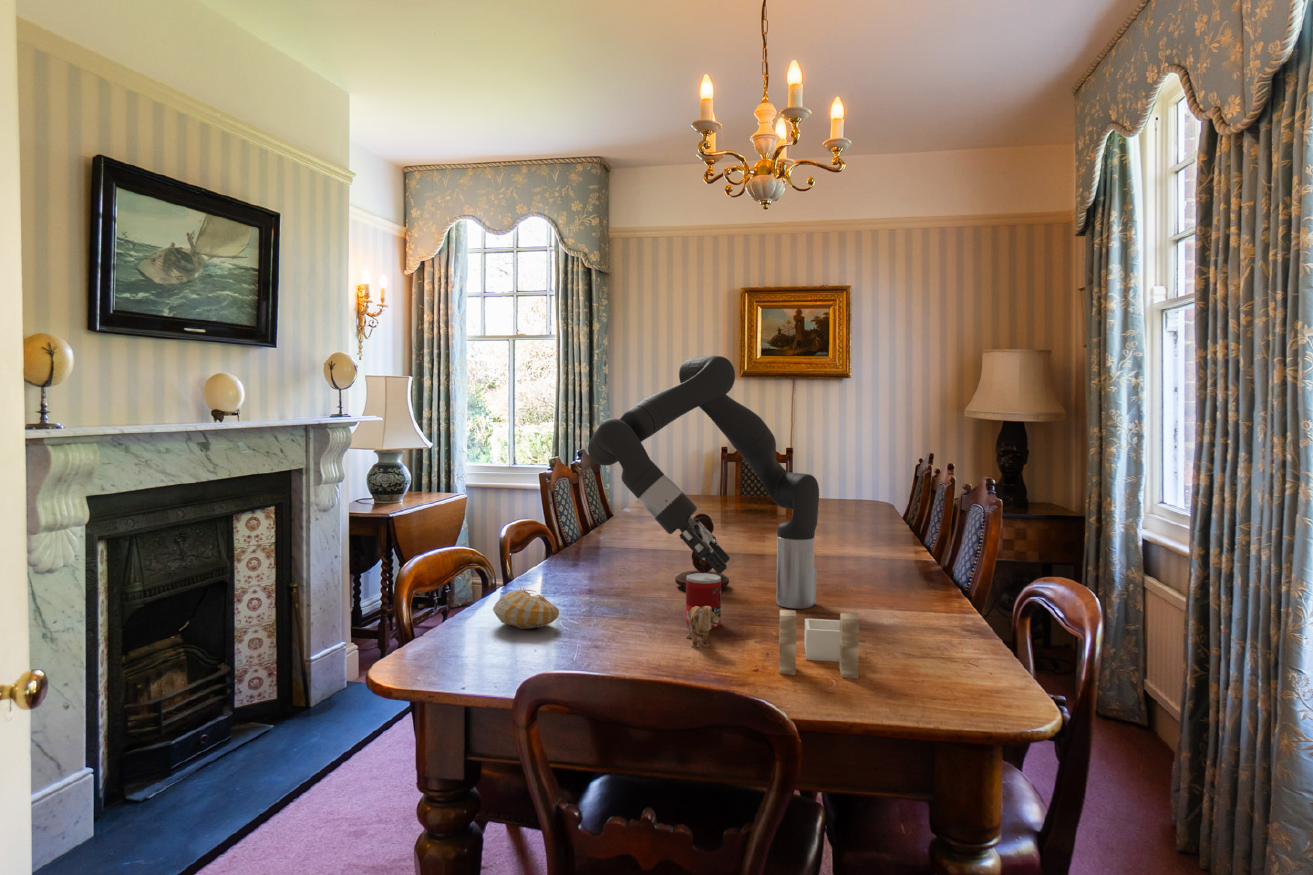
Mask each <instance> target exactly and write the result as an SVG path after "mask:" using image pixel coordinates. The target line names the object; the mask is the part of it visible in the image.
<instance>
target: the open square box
mask: <svg viewBox="0 0 1313 875" xmlns="http://www.w3.org/2000/svg"><path fill="white" fill-rule="evenodd" d="M803 639H804V640H803V641H804V643H803V644H804V646H803V647H804V655H805V660H806V661H821V662H836V663H839V662H840V619H822V618H821V619H820V618H804V638H803Z"/></svg>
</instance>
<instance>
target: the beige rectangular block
mask: <svg viewBox="0 0 1313 875" xmlns="http://www.w3.org/2000/svg"><path fill="white" fill-rule="evenodd" d="M859 618H860V617H859V616H858V614H857V613H854V612H851V613H850V612H849V613H848V612H840V618H839V620H840V662H838V663H839V668H838V669H839V674H841V675H840V678H841V679H854V678H857V680H858V679H859V654H860V653H859V651H860V650H859V649H860V648H859V647H860V644H859V642H860V641H859V639H860V619H859Z"/></svg>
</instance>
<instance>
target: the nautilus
mask: <svg viewBox="0 0 1313 875" xmlns="http://www.w3.org/2000/svg"><path fill="white" fill-rule="evenodd" d="M519 588H520V589H517V590H510V591H508V592H506V593H504V594H503V595H502V597H501V598H500V599H499V600H497V601H496V603H495V604H494V606H493V607H492V611H493V613H494V614H495V616H496V618H498V620H499V621H500V622H501V624H505V625H509V626H513V627H516V628H518V629H521V630H523V629H535V628H538V629H541V628H542V627H544V626H547V625H549V624H551V623H553V622H554V621H556V619H558V618H559V616H560V615H559V614H560V610H559V608H558V607H557V606H556V605H554V604H552V603H551V602H550V601H549V600H548V599H546V598H545V596H543V595H540V594H537V595H531V594H533V592H534V593H537V591H535V590H532V589H525V587H523V589H522V586H520V587H519ZM528 591H529V592H528ZM531 592H532V593H531Z"/></svg>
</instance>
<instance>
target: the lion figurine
mask: <svg viewBox="0 0 1313 875" xmlns="http://www.w3.org/2000/svg"><path fill="white" fill-rule="evenodd" d="M719 619H720V618H719V617H718V616H716V615H715V613H714V612H712V608H711V607H710V606H703V607H698V606H695V607H693V608H692V609H691V611H690V613H689V625H688V633H687V635H686V637H685V638H686V639H692V644H691V648H692V649H693V648H694V649H696V648H698V644H699V643H698V640H697V636H698V635H700V636H703V637H702V641H701V642H702V646H703V647H705V646H706V647H710V643H708V636H709V632H710V630H711V629H712V628H711V627H712V625H714V626H716V625H717V622H718V621H719Z"/></svg>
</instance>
